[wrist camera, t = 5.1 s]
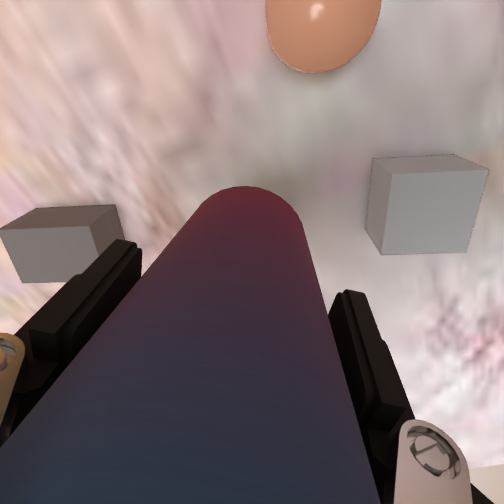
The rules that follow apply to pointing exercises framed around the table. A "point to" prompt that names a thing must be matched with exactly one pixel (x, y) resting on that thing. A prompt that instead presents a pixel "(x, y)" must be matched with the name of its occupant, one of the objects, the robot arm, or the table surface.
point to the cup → (203, 381)
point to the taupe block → (59, 241)
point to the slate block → (423, 203)
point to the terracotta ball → (319, 31)
